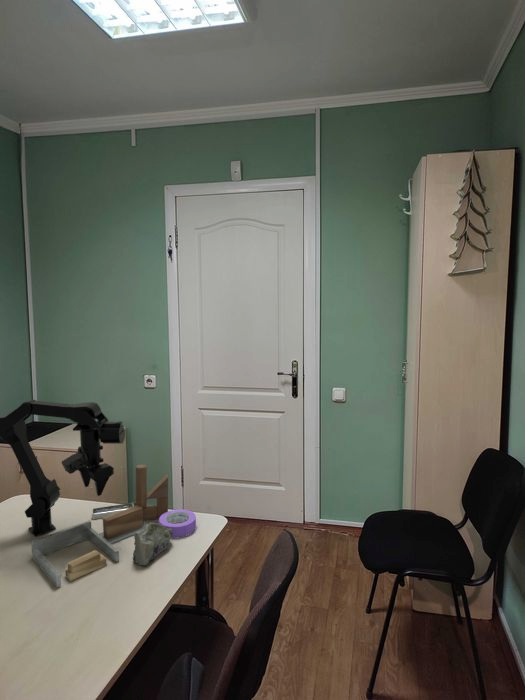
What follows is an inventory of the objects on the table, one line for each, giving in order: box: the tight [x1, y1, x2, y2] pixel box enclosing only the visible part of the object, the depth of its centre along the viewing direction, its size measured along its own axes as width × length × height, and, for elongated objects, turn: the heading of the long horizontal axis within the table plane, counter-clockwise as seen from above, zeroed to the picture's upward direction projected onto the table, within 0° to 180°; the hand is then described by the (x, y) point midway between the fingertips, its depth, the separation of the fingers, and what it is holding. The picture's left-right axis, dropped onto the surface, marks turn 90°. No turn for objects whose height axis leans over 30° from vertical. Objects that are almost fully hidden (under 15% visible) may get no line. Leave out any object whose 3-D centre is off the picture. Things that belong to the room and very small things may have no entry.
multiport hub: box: [91, 502, 135, 520], centre depth 154 cm, size 4×14×2 cm, turn 109°
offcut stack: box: [64, 549, 107, 582], centre depth 122 cm, size 3×10×4 cm, turn 134°
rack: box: [30, 520, 120, 588], centre depth 127 cm, size 19×17×5 cm
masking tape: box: [158, 508, 197, 539], centre depth 144 cm, size 12×12×4 cm
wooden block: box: [134, 464, 169, 521], centre depth 150 cm, size 4×11×18 cm, turn 105°
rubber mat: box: [98, 522, 148, 545], centre depth 142 cm, size 8×14×1 cm, turn 135°
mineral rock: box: [132, 521, 173, 566], centre depth 129 cm, size 13×11×10 cm
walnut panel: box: [102, 505, 144, 540], centre depth 142 cm, size 3×12×6 cm, turn 134°
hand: (92, 490), depth 142 cm, fingers open, 9 cm apart
